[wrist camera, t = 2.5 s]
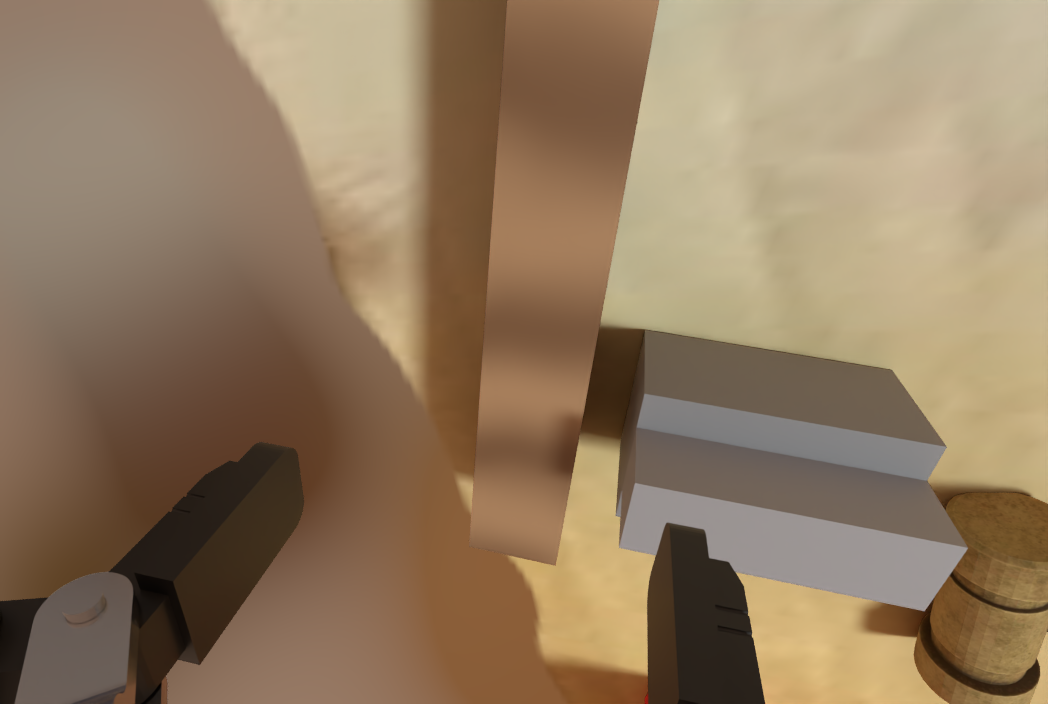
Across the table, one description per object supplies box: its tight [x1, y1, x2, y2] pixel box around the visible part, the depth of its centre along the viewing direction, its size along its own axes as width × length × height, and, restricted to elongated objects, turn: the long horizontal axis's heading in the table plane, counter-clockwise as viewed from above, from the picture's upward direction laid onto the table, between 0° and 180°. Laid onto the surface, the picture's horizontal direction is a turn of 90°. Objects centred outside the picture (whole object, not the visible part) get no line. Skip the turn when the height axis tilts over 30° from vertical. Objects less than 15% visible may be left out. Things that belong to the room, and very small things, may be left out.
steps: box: [616, 330, 968, 611], centre depth 22 cm, size 6×10×8 cm, turn 85°
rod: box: [469, 0, 659, 566], centre depth 22 cm, size 24×4×5 cm, turn 175°
